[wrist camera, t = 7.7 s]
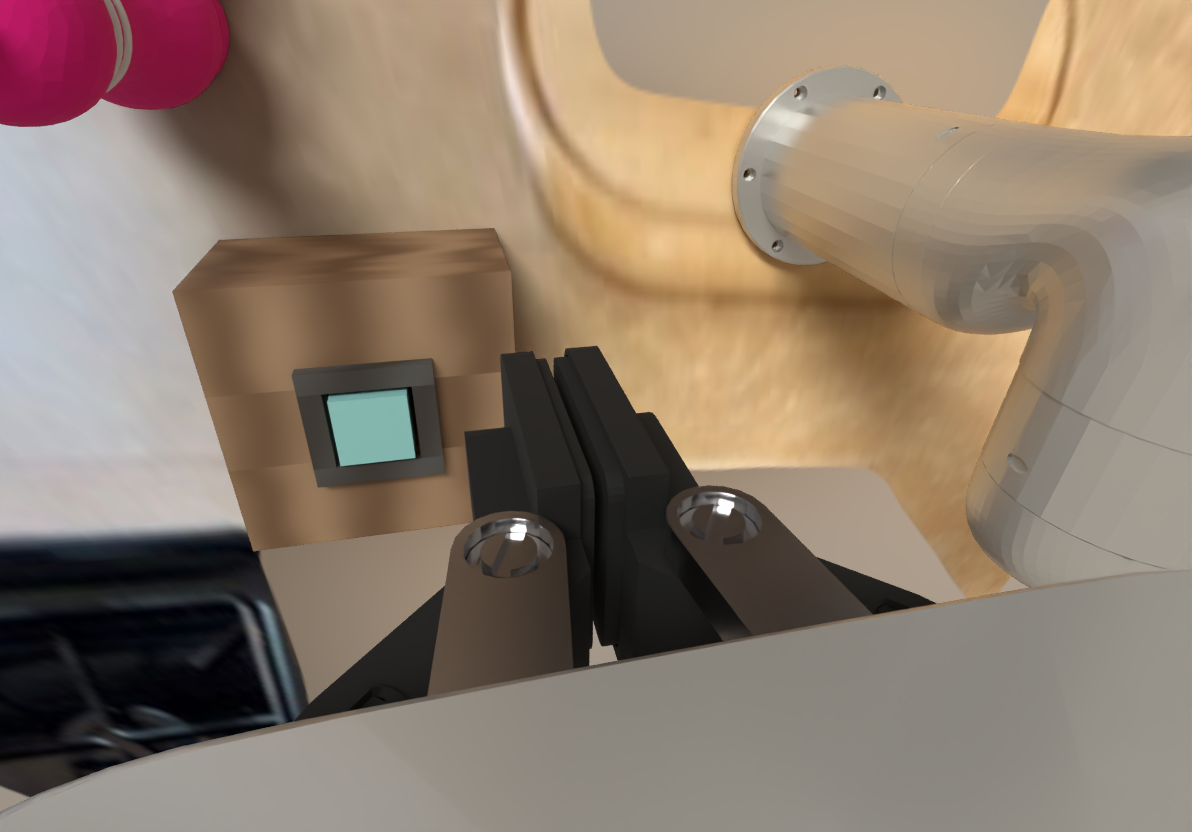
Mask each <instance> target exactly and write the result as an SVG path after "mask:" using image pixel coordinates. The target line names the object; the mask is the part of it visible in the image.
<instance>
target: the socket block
mask: <svg viewBox="0 0 1192 832" xmlns="http://www.w3.org/2000/svg"><path fill="white" fill-rule="evenodd" d="M172 292H173V295H174V299H175V302H176V305H177V308H178V311H179V315H180V318H181V321H182V324H183V327H184V331H185V334H186V337H187V340H188V343H189V347H190V350H191V353H192V356H193V359H194V363H195V366H196V369H197V372H198V375H199V379H200V382H201V385H202V388H203V391H204V395H205V398H206V401H207V404H208V407H209V411H210V414H211V417H212V420H213V423H214V427H215V430H216V433H217V436H218V439H219V443H220V446H221V449H222V452H223V455H224V459H225V462H226V465H227V468H228V471H229V475H230V478H231V481H232V484H233V487H234V491H235V494H236V497H237V500H238V503H239V507H240V510H241V513H242V516H243V519H244V523H245V526H246V529H247V532H248V535H249V539H250V542H251V545H252V548H253V551H259V550H266V549H274V548H281V547H289V546H297V545H304V544H312V543H320V542H327V541H335V540H342V539H350V538H358V537H365V536H372V535H380V534H388V533H395V532H403V531H411V530H418V529H426V528H433V527H441V526H449V525H456V524H463V523H472V522H473V516H472V507H471V497H470V488H469V478H468V468H467V458H466V447H465V437H464V431H473V430H483V429H492V428H502V427H504V414H503V398H502V382H501V366H500V355H501V354H506V353H515V340H514V320H513V299H512V279H511V271H510V268H509V265H508V263H507V260H506V258H505V255H504V253H503V250H502V247H501V245H500V242H499V240H498V237H497V235H496V232H495V230H494V228H489V229H466V230H443V231H420V232H397V233H373V234H350V235H327V236H304V237H281V238H258V239H235V240H219V241H218V242H217V243H216V244H215V245H214V246H213V247H212V248H211V250H210V251H209V252H208V253H207V254H206V255H205V256H204V257H203V258H202V259H201V261H200V262H199V263H198V264H197V265H196V266H195V267H194V268H193V269H192V270H191V272H190V273H189V274H188V275H187V276H186V277H185V278H184V279H183V280H182V281H181V283H180V284H179V285H178V286H177V287H176V288H175V289H174V290H173V291H172ZM400 387H412V393H413V400H414V407H415V458H411V459H402V460H393V461H384V462H375V463H366V464H356V465H347V466H340V461H339V456H338V451H337V447H336V442H335V437H334V432H333V428H332V423H331V418H330V413H329V409H328V404H327V401H328V397H329V394H333V393H344V392H355V391H367V390H378V389H389V388H400Z"/></svg>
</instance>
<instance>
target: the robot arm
mask: <svg viewBox="0 0 1192 832" xmlns="http://www.w3.org/2000/svg"><path fill="white" fill-rule="evenodd" d="M796 89H797V94H796V95H795V96H794V93H795V90H796ZM873 93H874V94H873ZM746 170H747V174H746V175H745V176H743V174H744V172H745V171H746ZM732 196H733V201H734V206H735V211H736V215H737V217H738V219H739V222H740V224H741V226H742V229H743V230H744V231H745V233H746V234H747V236H748V237H749V239H750V240H751V241H752V242H753V243H754V244H755V245H756V246H757V247H759V248H760V249H761V250H762V251H763V252H765V253H766V254H768V255H769V256H771V257H773V258H775V259H778V260H780V261H783V262H785V263H789V264H795V265H817V264H821V263H825V262H829V263H831V264H833V265H835V266H836V267H838V268H840V269H842V270H843V271H845V272H847V273H849V274H850V275H852V276H854V277H856V278H857V279H859V280H861V281H863V282H864V283H866V284H868V285H870V286H871V287H873V288H875V289H877V290H878V291H880V292H882V293H884V294H885V295H887V296H889V297H891V298H892V299H894V300H896V301H898V302H899V303H901V304H903V305H905V306H906V307H908V308H910V309H912V310H913V311H915V312H917V313H919V314H920V315H922V316H924V317H926V318H928V319H930V320H931V321H933V322H935V323H937V324H939V325H942V326H944V327H946V328H949V329H952V330H955V331H959V332H963V333H969V334H984V335H996V334H1005V333H1013V332H1019V331H1025V330H1029V329H1032V331H1031V333H1030V336H1029V338H1028V341H1027V343H1026V346H1025V348H1024V351H1023V353H1022V355H1021V358H1020V364H1019V366H1018V369H1017V371H1016V373H1015V376H1014V378H1013V380H1012V382H1011V385H1010V387H1009V389H1008V391H1007V394H1006V396H1005V398H1004V401H1003V403H1002V405H1001V407H1000V410H999V412H998V414H997V417H996V419H995V421H994V423H993V426H992V428H991V430H990V433H989V435H988V437H987V439H986V442H985V444H984V446H983V450H982V452H981V455H980V457H979V459H978V462H977V464H976V467H975V469H974V472H973V475H972V478H971V481H970V484H969V487H968V491H967V498H966V515H967V521H968V525H969V527H970V530H971V532H972V535H973V537H974V538H975V540H976V541H977V543H978V544H979V546H980V547H981V548H982V550H983V551H984V552H985V553H986V554H987V555H988V556H989V557H990V558H991V559H992V560H993V561H994V562H995V563H996V564H997V565H998V566H999V567H1000V568H1002V569H1003V570H1004V571H1006V572H1007V573H1008V574H1010V575H1011V576H1012V577H1014V578H1015V579H1017V580H1018V581H1020V582H1021V583H1023V584H1025V585H1026V586H1028V587H1030V588H1025V589H1019V590H1014V591H1008V592H1002V593H996V594H990V595H984V596H978V597H973V598H967V599H962V600H956V601H950V602H944V603H938V604H936V603H935V602H932V601H930V600H928V599H926V598H924V597H922V596H920V595H917V594H915V593H912V592H910V591H907V590H904V589H901V588H898V587H896V586H893V585H891V584H888V583H885V582H883V581H880V580H877V579H874V578H872V577H869V576H866V575H863V574H861V573H858V572H856V571H853V570H850V569H847V568H845V567H842V566H839V565H837V564H834V563H831V562H829V561H826V560H823V559H820V558H818V557H815V556H814V555H813V554H812V552H811V551H810V550H809V549H807V547H806V546H805V545H804V544H803V543H801V541H800V540H799V539H798V538H797V537H796V536H795V535H794V534H793V533H792V532H791V531H790V530H789V529H788V528H787V527H786V526H785V525H784V524H783V523H782V522H781V521H780V520H779V519H778V518H777V517H776V516H775V515H774V514H773V513H772V512H771V511H770V510H769V509H768V508H767V507H766V506H765V505H764V504H762V503H761V502H760V501H758V500H757V499H756V498H755V497H753V496H751V495H749V494H746V493H744V492H742V491H740V490H737V489H732V488H729V487H725V486H711V485H707V486H698V484H697V483H696V481H695V480H694V478H693V476H692V475H691V473H690V471H689V470H688V468H687V466H686V465H685V463H684V462H683V460H682V458H681V457H680V455H679V453H678V452H677V450H676V449H675V447H674V445H673V444H672V442H671V440H670V439H669V437H668V436H667V434H666V432H665V431H664V429H663V427H662V426H661V424H660V423H659V421H658V419H657V418H656V416H655V415H654V414H653V413H651V412H646V413H636V412H635V411H634V409H633V407H632V405H631V404H630V402H629V400H628V398H627V397H626V395H625V393H624V391H623V390H622V388H621V386H620V384H619V383H618V381H617V379H616V377H615V375H614V374H613V372H612V370H611V368H610V367H609V365H608V363H607V361H606V360H605V358H604V356H603V354H602V353H601V351H600V349H599V348H598V347H597V346H591V347H579V348H567V349H566V350H565V354H564V357H558V358H554V378H553V376H552V373H551V370H550V368H549V365H548V363H547V360H546V359H535V356H534V353H533V351H530V352H518V353H506V354H501V355H500V366H501V382H502V398H503V414H504V427H502V428H492V429H483V430H473V431H464V437H465V447H466V458H467V468H468V478H469V488H470V497H471V507H472V516H473V522H472V523H470V524H468V525H467V526H465V527H464V528H463V529H462V530H461V532H460V533H459V534H458V535H457V536H456V537H455V540H454V542H453V545H452V547H451V551H450V558H449V563H448V570H447V576H446V583H445V586H444V587H443V588H442V589H441V590H439V591H438V592H437V593H436V594H435V595H434V596H432V597H431V598H430V599H429V600H428V601H427V602H426V603H424V604H423V605H422V606H421V607H420V608H419V609H418V610H416V611H415V612H414V613H413V614H412V615H411V616H409V617H408V618H407V619H406V620H405V621H404V622H403V623H401V624H400V625H399V626H398V627H397V628H396V629H395V630H393V631H392V632H391V633H390V634H389V635H388V636H387V637H385V638H384V639H383V640H382V641H381V642H380V643H379V644H377V645H376V646H375V647H374V648H373V649H372V650H370V651H369V652H368V653H367V654H366V655H365V656H364V657H362V658H361V659H360V660H359V661H358V662H357V663H356V664H354V665H353V666H352V667H351V668H350V669H349V670H347V671H346V672H345V673H344V674H343V675H342V676H341V677H339V678H338V679H337V680H336V681H335V682H334V683H332V684H331V685H330V686H329V687H328V688H327V689H326V690H325V691H323V692H322V693H321V694H320V695H319V696H318V697H317V698H315V699H314V700H313V701H312V702H311V703H310V704H309V705H308V706H307V707H306V708H305V709H304V711H303V712H302V713H301V714H300V715H299V716H298V717H297V718H296V720H295V722H291V723H286V724H282V725H277V726H273V727H268V728H264V729H259V730H255V731H250V732H246V733H241V734H237V735H232V736H228V737H223V738H218V739H214V740H209V741H205V742H200V743H196V744H191V745H187V746H182V747H178V748H174V749H171V750H167V751H164V752H160V753H157V754H154V755H150V756H147V757H143V758H140V759H136V760H133V761H129V762H126V763H122V764H119V765H115V766H112V767H109V768H106V769H104V770H101V771H98V772H96V773H93V774H90V775H88V776H85V777H82V778H80V779H77V780H74V781H71V782H69V783H66V784H63V785H61V786H58V787H55V788H53V789H50V790H47V791H45V792H42V793H39V794H37V795H35V796H33V797H30V798H28V799H27V800H24V801H22V802H20V803H18V804H16V805H14V806H11V807H9V808H7V809H5V810H3V811H1V812H0V832H1192V136H1148V135H1121V134H1112V133H1103V132H1094V131H1085V130H1076V129H1067V128H1059V127H1052V126H1046V125H1039V124H1033V123H1027V122H1017V121H1011V120H1005V119H998V118H992V117H986V116H980V115H973V114H967V113H960V112H954V111H948V110H942V109H936V108H930V107H923V106H917V105H911V104H905V103H903V102H902V100H901V97H900V96H899V95H898V93H897V92H896V91H895V90H894V88H893V87H892V86H891V85H890V84H889V83H888V82H887V81H885V80H884V79H883V78H881V77H880V76H879V75H878V74H875V73H873V72H871V71H868V70H866V69H863V68H858V67H852V66H825V67H820V68H816V69H812V70H809V71H807V72H805V73H803V74H801V75H798V76H796V77H794V78H793V79H791V80H790V81H788V82H787V83H785V84H784V85H783V86H781V87H780V88H778V89H777V90H776V91H775V92H774V93H773V94H772V95H771V96H770V97H769V98H768V99H767V100H766V101H765V102H764V103H763V104H762V106H761V107H760V108H759V110H758V111H757V113H756V114H755V115H754V117H753V118H752V120H751V121H750V123H749V125H748V127H747V129H746V131H745V133H744V135H743V137H742V139H741V142H740V145H739V148H738V151H737V154H736V157H735V162H734V169H733V175H732ZM774 242H775V243H774ZM773 243H774V245H773ZM772 245H773V246H772ZM593 622H594V625H595V628H596V632H597V635H598V638H599V641H600V644H601V646H609V645H613V647H614V650H615V654H616V657H617V660H618V661H614V662H608V663H603V664H598V665H593V666H589V649H591V648H592V642H593Z"/></svg>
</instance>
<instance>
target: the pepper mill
mask: <svg viewBox="0 0 1192 832" xmlns="http://www.w3.org/2000/svg"><path fill="white" fill-rule="evenodd" d="M228 50H229V28H228V23H227V19H226V16H225V13H224V10H223V7H222V6H221V4H220V2H219V0H0V124H4V125H9V126H18V127H37V126H47V125H54V124H58V123H62V122H66V121H69V120H71V119H73V118H75V117H78V116H80V115H81V114H83V113H85V112H87V111H88V110H89V109H91V108H92V107H93V106H95V105H96V104H97V102H98V101H99V100H100V99H101V98H102V99H104V100H106V101H109V102H111V103H114V104H117V105H120V106H124V107H129V108H134V109H148V110H156V109H167V108H174V107H177V106H180V105H183V104H186V103H188V102H189V101H191V100H193V99H195V98H196V97H198V96H199V95H200V94H201V93H202V92H203V91H204V90H205V89H206V88H207V87H208V86H209V84H210V83H211V82H212V80H213V78H215V76H216V75H217V74H218V73H219V72H220V70H221V69H222V67H223V65H224V63H225V61H226V58H227V55H228Z"/></svg>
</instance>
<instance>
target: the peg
mask: <svg viewBox="0 0 1192 832" xmlns="http://www.w3.org/2000/svg"><path fill="white" fill-rule="evenodd" d="M327 404H328V409H329V413H330V418H331V423H332V428H333V432H334V437H335V442H336V447H337V451H338V456H339V461H340V466H347V465H356V464H366V463H375V462H384V461H393V460H402V459H411V458H415V407H414V400H413V393H412V387H400V388H389V389H378V390H367V391H355V392H344V393H333V394H329V397H328V401H327Z"/></svg>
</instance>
